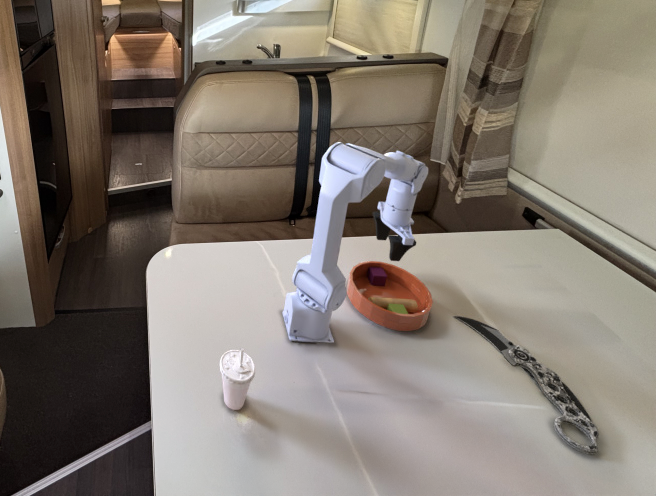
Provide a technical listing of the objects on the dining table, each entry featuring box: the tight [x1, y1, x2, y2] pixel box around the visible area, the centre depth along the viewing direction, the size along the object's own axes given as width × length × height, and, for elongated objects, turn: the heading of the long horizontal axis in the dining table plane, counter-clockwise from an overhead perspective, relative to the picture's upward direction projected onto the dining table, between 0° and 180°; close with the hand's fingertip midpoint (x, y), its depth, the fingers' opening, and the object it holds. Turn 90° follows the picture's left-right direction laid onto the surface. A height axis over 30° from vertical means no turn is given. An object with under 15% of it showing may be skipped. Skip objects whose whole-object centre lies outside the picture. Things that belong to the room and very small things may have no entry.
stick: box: [368, 297, 418, 313], centre depth 99 cm, size 10×3×3 cm
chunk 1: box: [367, 267, 387, 286], centre depth 108 cm, size 3×3×3 cm
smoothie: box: [219, 347, 256, 411], centre depth 78 cm, size 6×6×14 cm
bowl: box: [346, 260, 434, 332], centre depth 102 cm, size 17×17×5 cm
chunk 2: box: [387, 304, 408, 314], centre depth 97 cm, size 3×3×3 cm
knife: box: [453, 315, 600, 455], centre depth 85 cm, size 28×2×10 cm
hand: (387, 249), depth 106 cm, fingers open, 7 cm apart
